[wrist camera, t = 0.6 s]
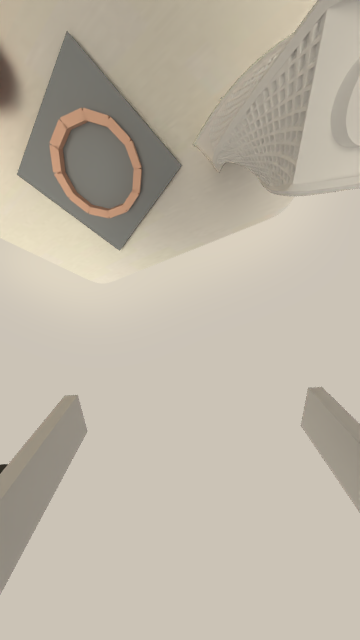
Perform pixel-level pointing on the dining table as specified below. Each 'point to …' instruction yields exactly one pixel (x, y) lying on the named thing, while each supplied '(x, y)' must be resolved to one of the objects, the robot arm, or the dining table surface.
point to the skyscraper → (296, 109)
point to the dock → (94, 150)
